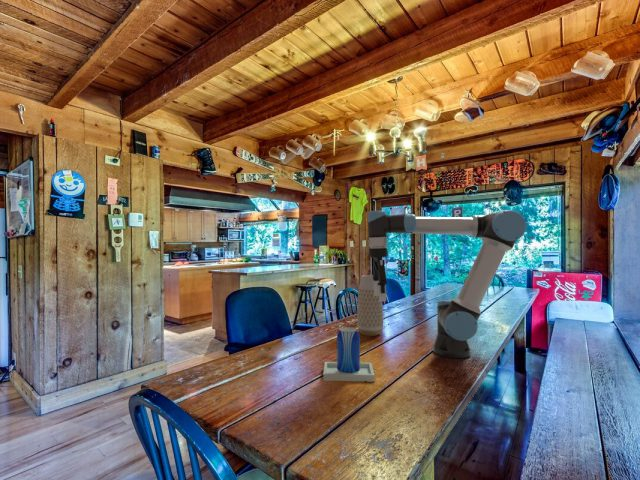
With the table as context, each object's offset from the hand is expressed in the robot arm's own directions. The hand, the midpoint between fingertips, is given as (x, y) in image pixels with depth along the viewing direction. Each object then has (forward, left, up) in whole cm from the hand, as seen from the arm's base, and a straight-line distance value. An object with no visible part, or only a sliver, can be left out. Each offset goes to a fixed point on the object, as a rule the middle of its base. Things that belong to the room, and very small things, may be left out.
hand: (379, 298), depth 140 cm
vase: (+1, -38, -26) cm, 46 cm away
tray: (+14, +17, -25) cm, 33 cm away
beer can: (+14, +17, -25) cm, 33 cm away
